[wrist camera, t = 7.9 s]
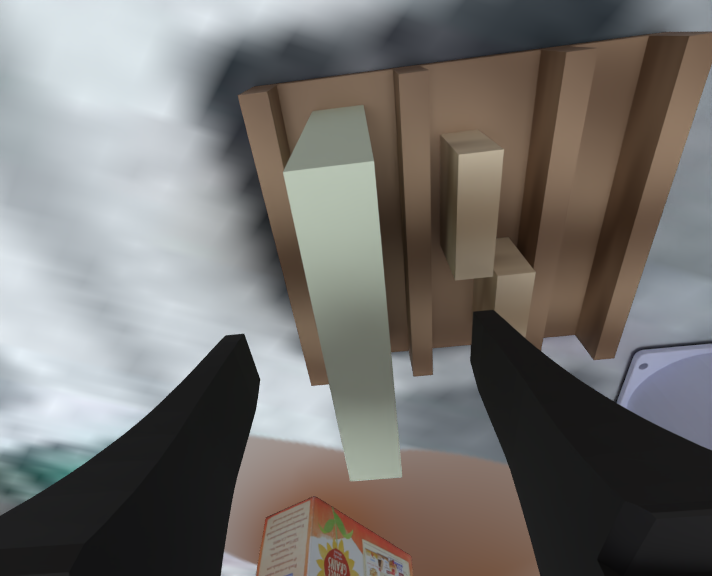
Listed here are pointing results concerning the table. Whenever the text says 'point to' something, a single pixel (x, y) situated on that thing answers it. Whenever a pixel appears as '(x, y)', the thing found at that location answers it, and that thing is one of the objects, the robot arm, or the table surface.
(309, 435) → the table surface
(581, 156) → the rack
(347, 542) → the cracker box
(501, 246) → the offcut
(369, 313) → the pale green slab
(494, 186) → the offcut
